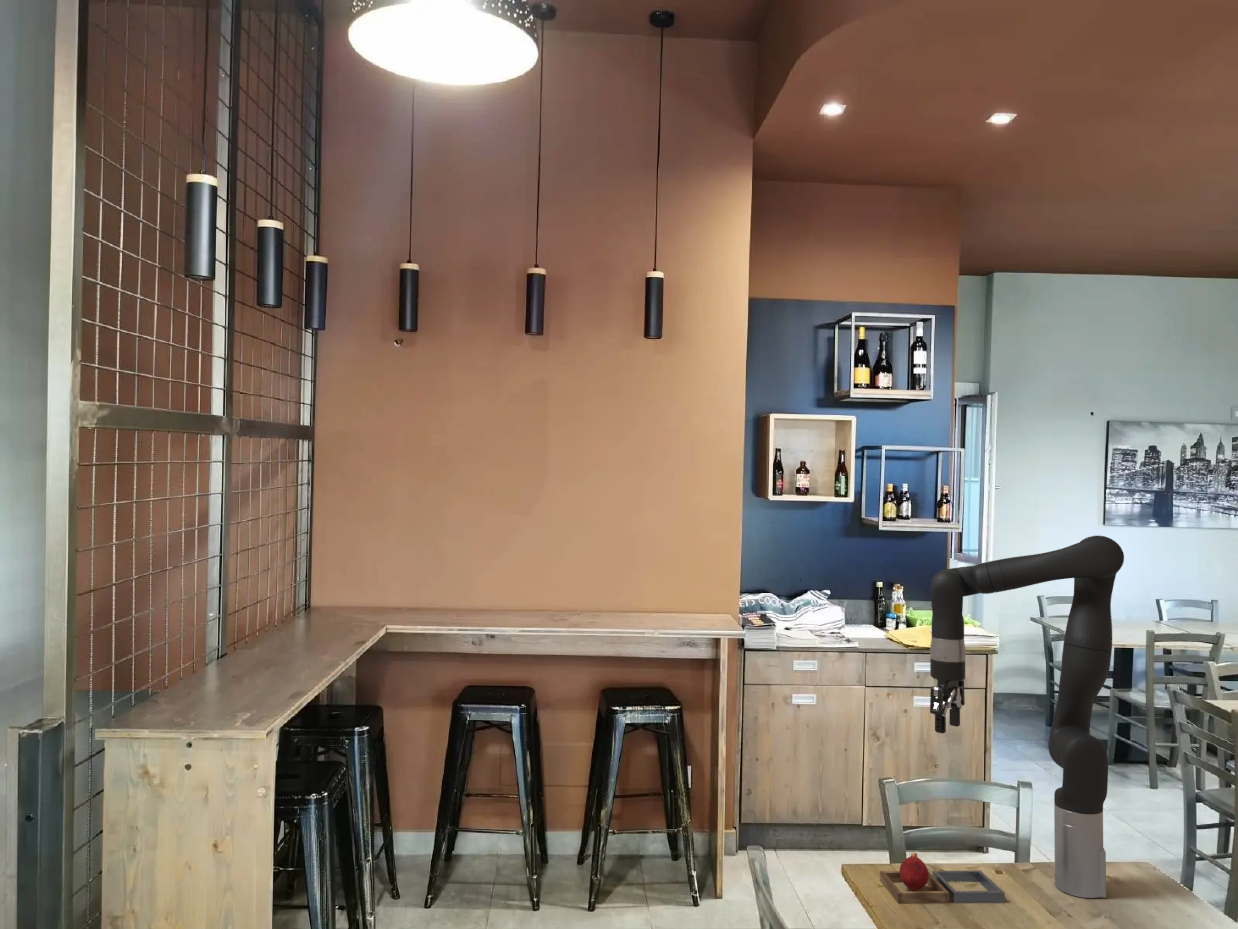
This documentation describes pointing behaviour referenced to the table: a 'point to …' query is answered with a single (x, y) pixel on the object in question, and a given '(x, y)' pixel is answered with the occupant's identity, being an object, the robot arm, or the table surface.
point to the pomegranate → (914, 873)
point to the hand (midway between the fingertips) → (947, 729)
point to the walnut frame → (914, 896)
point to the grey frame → (988, 896)
